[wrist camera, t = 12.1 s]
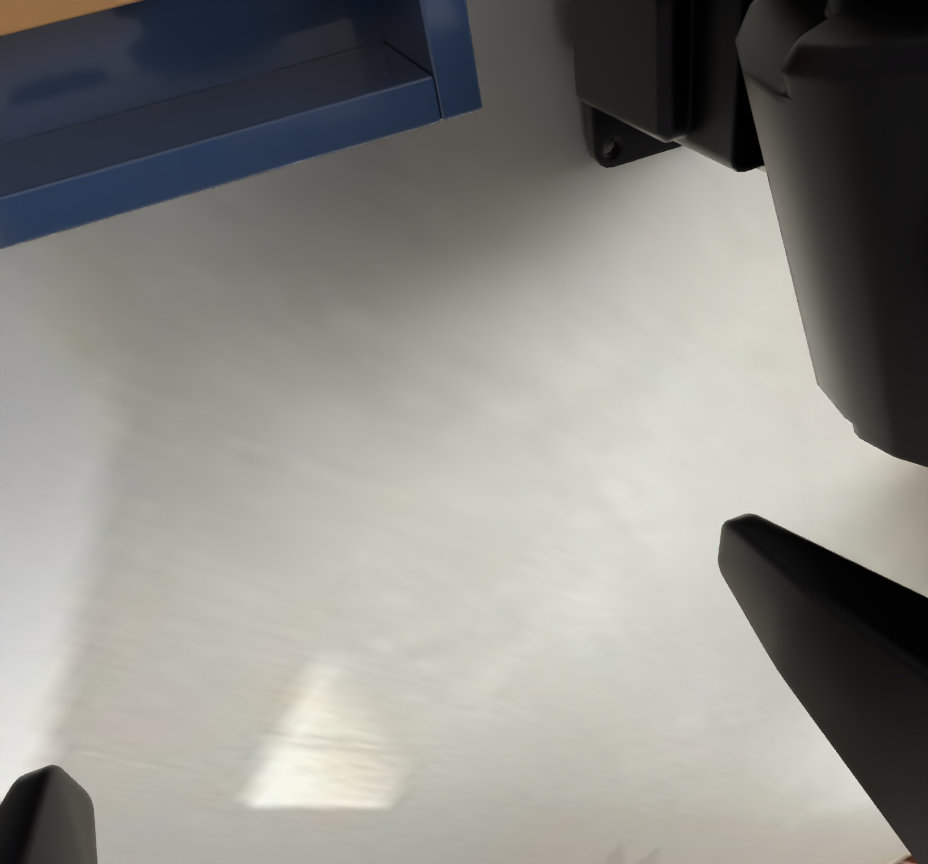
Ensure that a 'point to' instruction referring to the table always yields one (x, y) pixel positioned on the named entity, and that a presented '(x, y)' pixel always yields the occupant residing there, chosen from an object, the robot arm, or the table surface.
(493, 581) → the table surface
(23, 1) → the packet
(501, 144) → the table surface
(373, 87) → the open box
